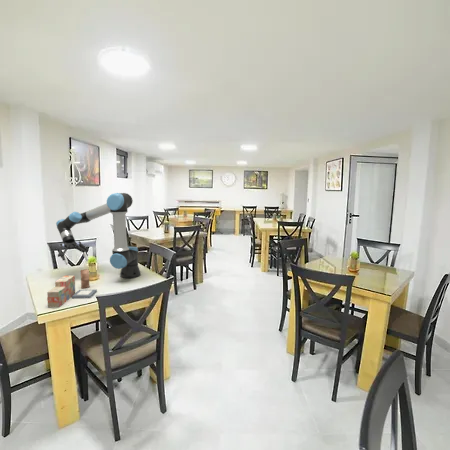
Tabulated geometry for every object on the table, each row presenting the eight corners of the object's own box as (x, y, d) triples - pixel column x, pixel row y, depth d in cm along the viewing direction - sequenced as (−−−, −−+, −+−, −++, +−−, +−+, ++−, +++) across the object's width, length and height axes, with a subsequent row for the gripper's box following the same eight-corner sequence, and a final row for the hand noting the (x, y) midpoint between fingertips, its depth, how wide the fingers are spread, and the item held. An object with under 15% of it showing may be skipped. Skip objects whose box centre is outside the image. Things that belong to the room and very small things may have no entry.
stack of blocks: (59, 307, 157) (58, 286, 155) (47, 307, 156) (46, 286, 155) (75, 293, 178) (74, 275, 176) (65, 293, 177) (64, 275, 176)
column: (90, 286, 191) (90, 269, 190) (87, 288, 187) (87, 271, 185) (83, 286, 191) (82, 269, 189) (80, 288, 186) (79, 271, 184)
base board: (96, 291, 181) (96, 289, 181) (90, 298, 171) (90, 295, 170) (79, 291, 180) (79, 289, 180) (71, 298, 169) (71, 295, 169)
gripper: (83, 239, 213) (93, 261, 205) (47, 243, 193) (56, 268, 186) (86, 233, 209) (96, 255, 201) (49, 236, 189) (59, 262, 182)
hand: (77, 261), depth 193 cm, fingers open, 13 cm apart
